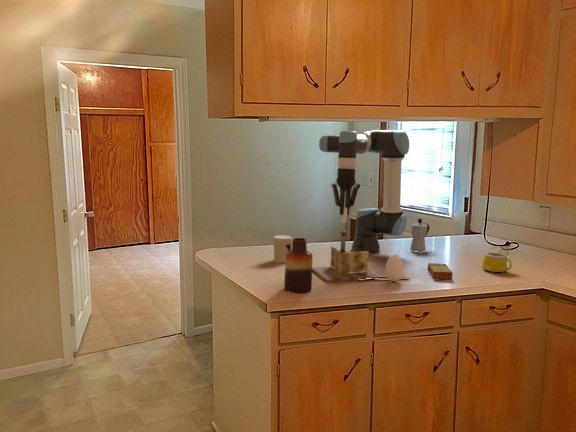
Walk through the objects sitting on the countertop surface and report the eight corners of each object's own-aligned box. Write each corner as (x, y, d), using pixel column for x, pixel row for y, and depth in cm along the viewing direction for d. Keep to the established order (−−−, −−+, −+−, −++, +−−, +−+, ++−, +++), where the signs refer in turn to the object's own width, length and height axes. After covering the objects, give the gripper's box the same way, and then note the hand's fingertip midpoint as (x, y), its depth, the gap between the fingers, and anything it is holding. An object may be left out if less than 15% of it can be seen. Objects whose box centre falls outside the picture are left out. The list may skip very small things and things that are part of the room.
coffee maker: (417, 254, 272) (419, 220, 269) (404, 250, 278) (406, 218, 275) (433, 250, 281) (436, 218, 278) (420, 247, 288) (422, 216, 285)
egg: (389, 284, 214) (390, 257, 212) (381, 279, 221) (383, 253, 219) (405, 283, 215) (407, 256, 213) (397, 278, 222) (399, 252, 221)
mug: (481, 272, 238) (483, 246, 237) (482, 266, 248) (484, 242, 246) (510, 275, 233) (513, 250, 231) (511, 270, 243) (513, 245, 241)
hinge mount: (358, 267, 240) (359, 244, 238) (378, 279, 221) (380, 254, 219) (310, 270, 233) (311, 246, 231) (327, 282, 213) (328, 256, 212)
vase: (279, 287, 205) (280, 238, 201) (300, 283, 211) (302, 235, 208) (294, 294, 196) (296, 243, 193) (316, 290, 202) (318, 240, 199)
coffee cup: (289, 264, 242) (290, 239, 240) (270, 262, 244) (271, 238, 242) (293, 259, 251) (294, 235, 249) (274, 258, 253) (275, 234, 251)
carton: (432, 280, 223) (433, 271, 222) (427, 271, 238) (427, 262, 238) (452, 281, 222) (453, 272, 221) (445, 272, 237) (445, 263, 237)
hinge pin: (344, 254, 224) (345, 230, 223) (347, 255, 221) (348, 231, 220) (337, 254, 223) (338, 230, 222) (340, 256, 220) (341, 231, 219)
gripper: (356, 167, 222) (353, 220, 225) (329, 167, 218) (326, 221, 221) (364, 168, 215) (361, 223, 218) (335, 168, 211) (333, 224, 214)
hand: (343, 222), depth 220 cm, fingers closed
